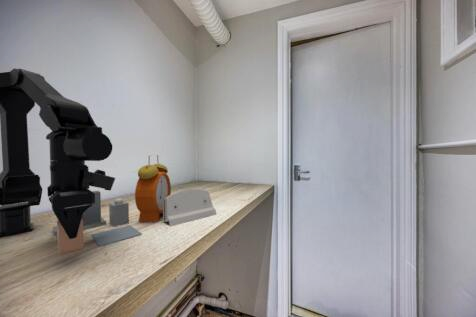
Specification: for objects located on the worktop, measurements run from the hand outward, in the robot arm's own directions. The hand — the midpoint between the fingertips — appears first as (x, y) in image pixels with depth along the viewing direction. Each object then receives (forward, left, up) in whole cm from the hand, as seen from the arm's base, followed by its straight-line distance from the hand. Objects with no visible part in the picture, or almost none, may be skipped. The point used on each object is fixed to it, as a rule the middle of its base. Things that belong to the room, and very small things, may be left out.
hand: (70, 232), depth 44 cm
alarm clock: (-8, +22, -4) cm, 24 cm away
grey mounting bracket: (+1, +29, -4) cm, 30 cm away
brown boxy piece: (0, 0, -4) cm, 4 cm away
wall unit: (-13, +3, -3) cm, 14 cm away
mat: (0, +9, -3) cm, 10 cm away
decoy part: (-9, +12, -4) cm, 16 cm away
